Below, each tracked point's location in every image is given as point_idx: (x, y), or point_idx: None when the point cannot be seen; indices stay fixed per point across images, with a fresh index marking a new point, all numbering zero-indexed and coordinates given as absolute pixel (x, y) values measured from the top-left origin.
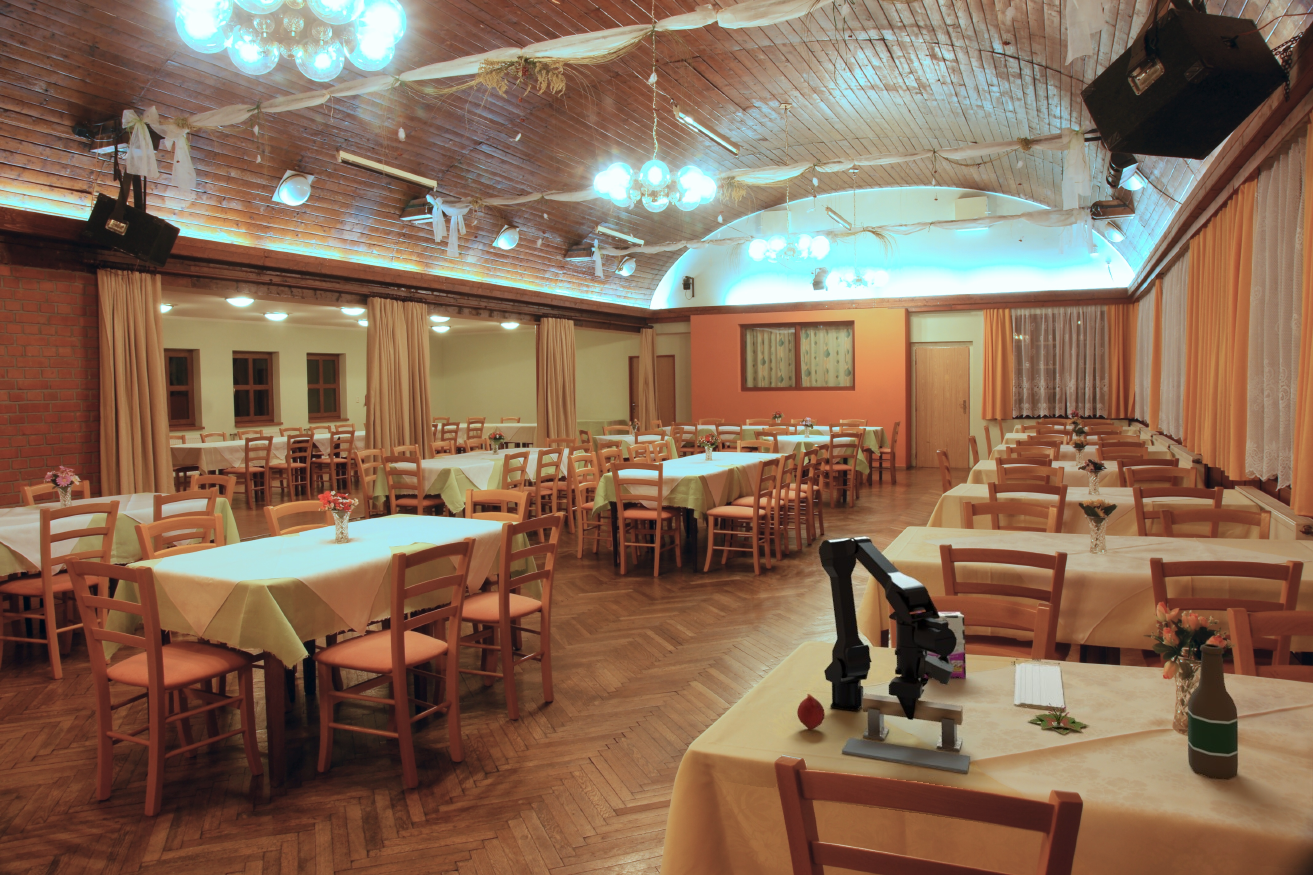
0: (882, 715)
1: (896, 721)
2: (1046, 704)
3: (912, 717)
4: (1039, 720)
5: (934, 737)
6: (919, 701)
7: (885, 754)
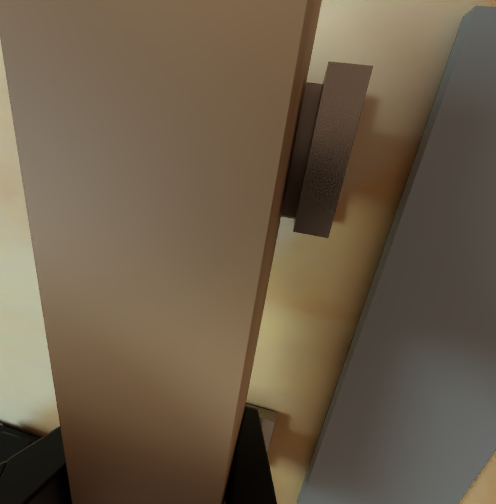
0: None
1: None
2: None
3: (259, 425)
4: None
5: None
6: (102, 472)
7: (458, 444)
